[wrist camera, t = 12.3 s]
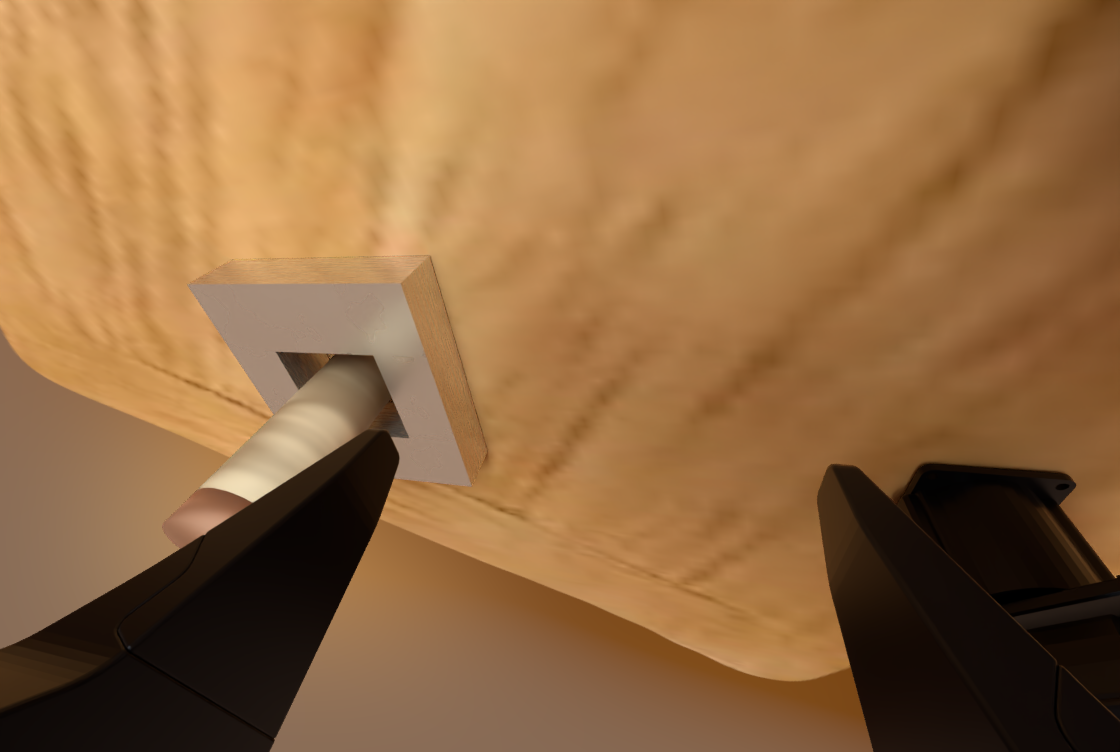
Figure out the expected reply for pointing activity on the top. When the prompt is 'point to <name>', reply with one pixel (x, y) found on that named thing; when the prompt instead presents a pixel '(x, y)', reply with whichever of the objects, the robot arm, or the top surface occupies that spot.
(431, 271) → the square hole block
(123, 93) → the top surface
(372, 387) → the beech pin
